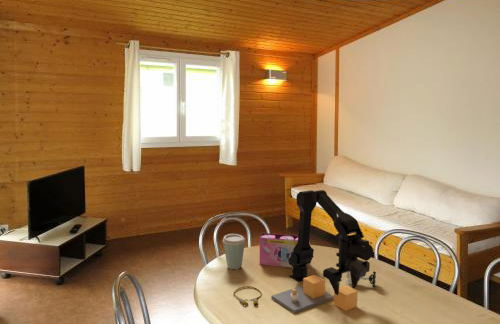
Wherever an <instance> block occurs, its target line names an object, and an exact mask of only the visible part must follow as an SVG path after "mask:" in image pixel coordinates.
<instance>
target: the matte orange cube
mask: <svg viewBox="0 0 500 324" xmlns="http://www.w3.org/2000/svg"><path fill="white" fill-rule="evenodd" d="M333 296H334V299H333V305H335V306H337V307H338V308H340V309H342V310H343V311H348V310H351V309H352V310H353V308H357V307H358V290H356V289H354V288H353V287H349V286H348V285H343V286H339V293H338V295H336V294H335V292H334V291H333Z"/></svg>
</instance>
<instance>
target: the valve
mask: <svg viewBox="0 0 500 324" xmlns="http://www.w3.org/2000/svg"><path fill="white" fill-rule="evenodd" d="M376 277H377V272H376V271H374V270H373V271H372V274H370V275H369V276H367V275H365V276H364V277H360V279H359V281H361V280H363V281H366V280H368V282H369V283H370V284H371V287H373V288H375V287H376V281H377V280H376ZM345 278H346V282H345V283H346V284H347V285H350V286H352V282H351V274H350V272H346V273H345ZM359 281H358V282H359Z"/></svg>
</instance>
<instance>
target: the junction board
mask: <svg viewBox="0 0 500 324" xmlns="http://www.w3.org/2000/svg"><path fill="white" fill-rule="evenodd" d="M308 276H309V277H306V278H303V280H302V281H303V283H302V285H300V286H297V287H294V288H291V289H287V290H285V291H281V292H278V293H275V294H273V295H272V294H271V295H270V296H271V298H270V299H272V300H273V301H274V302H276V303H278V304H279V305H281V307H284V308H285V309H286V310H288V311H289V312H291V313H293V314H296V313H299V312H302V311H305V310H307V309H311V308H313V307H316V306H319V305H321V304H324V303H327V302H329V301H332V300H333V301H334V294H331V293H329V292H327V291H326V280H325V279H324V278H321V277H320V276H318V275H316V274H313V275H308Z"/></svg>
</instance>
